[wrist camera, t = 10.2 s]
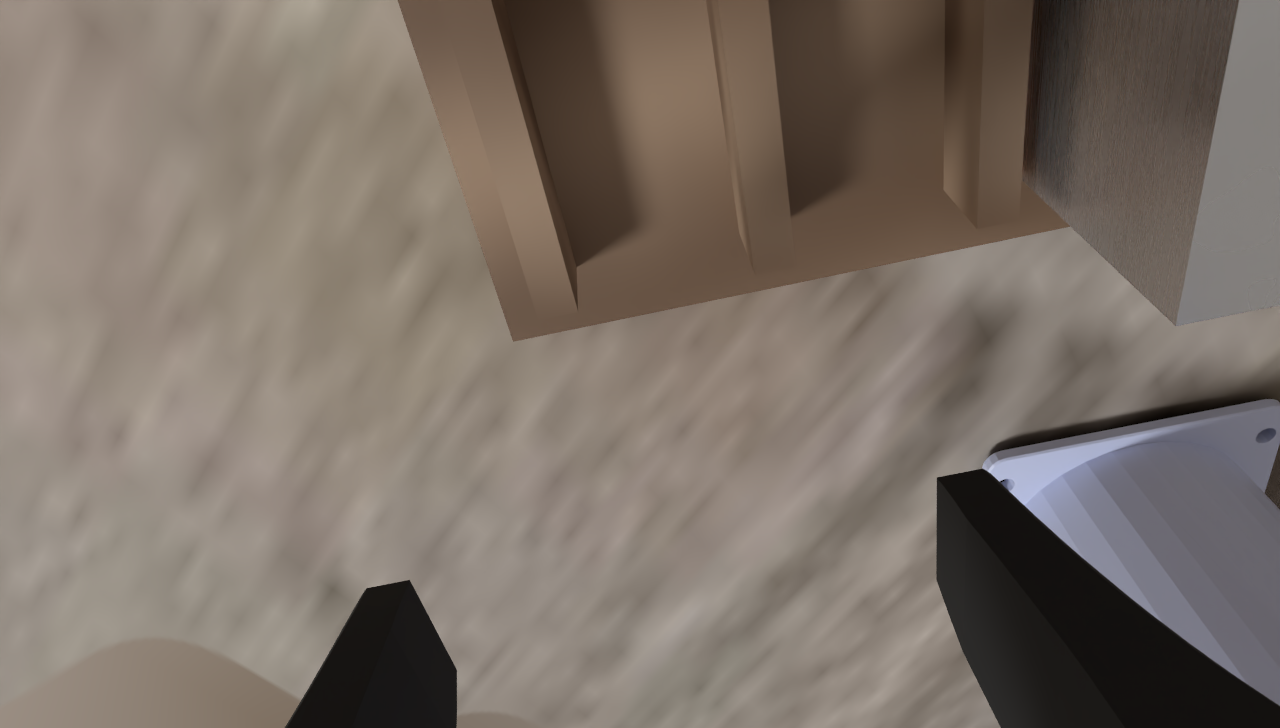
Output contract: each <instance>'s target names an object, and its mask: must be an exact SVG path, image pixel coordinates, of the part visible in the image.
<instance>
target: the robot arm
mask: <svg viewBox="0 0 1280 728" xmlns="http://www.w3.org/2000/svg"><path fill="white" fill-rule="evenodd" d="M1279 444H1280V402H1279V401H1277V400H1274V399H1264V400H1259V401H1253V402H1248V403H1243V404H1238V405H1233V406H1228V407H1223V408H1218V409H1212V410H1207V411H1202V412H1197V413H1192V414H1187V415H1182V416H1177V417H1171V418H1166V419H1161V420H1156V421H1151V422H1146V423H1141V424H1135V425H1130V426H1125V427H1120V428H1115V429H1110V430H1105V431H1100V432H1094V433H1089V434H1084V435H1079V436H1074V437H1069V438H1064V439H1059V440H1053V441H1048V442H1043V443H1038V444H1033V445H1028V446H1023V447H1018V448H1012V449H1007V450H1002V451H999V452H996V453H993V454H992V455H990V456H989V457H988V458H987V459H986V461H985V462H984V464H983V467H982V469H979V470H974V471H969V472H963V473H958V474H953V475H948V476H943V477H938V478H937V582H938V585H939V588H940V591H941V593H942V596H943V599H944V602H945V604H946V607H947V610H948V613H949V616H950V618H951V621H952V624H953V626H954V629H955V632H956V634H957V637H958V640H959V642H960V645H961V648H962V650H963V652H964V654H965V656H966V658H967V661H968V663H969V665H970V667H971V669H972V671H973V673H974V675H975V677H976V679H977V681H978V683H979V685H980V687H981V689H982V691H983V693H984V695H985V697H986V699H987V701H988V703H989V705H990V707H991V709H992V711H993V713H994V715H995V717H996V719H997V721H998V723H999V725H1000V727H1001V728H1280V509H1279V508H1278V507H1277V506H1276V505H1275V504H1274V503H1273V502H1272V501H1271V500H1270V499H1269V498H1268V496H1267V495H1266V494H1265V490H1266V487H1267V483H1268V480H1269V477H1270V474H1271V470H1272V467H1273V464H1274V461H1275V457H1276V454H1277V451H1278V448H1279ZM1004 479H1006V480H1005V481H1003V482H1001V483H1000V481H1002V480H1004ZM456 720H457V670H456V668H455V666H454V664H453V662H452V660H451V658H450V656H449V654H448V652H447V651H446V649H445V647H444V645H443V643H442V641H441V639H440V637H439V635H438V633H437V631H436V630H435V628H434V626H433V624H432V622H431V620H430V618H429V616H428V614H427V612H426V610H425V608H424V607H423V605H422V603H421V601H420V599H419V597H418V595H417V593H416V591H415V589H414V587H413V586H412V584H411V582H410V580H408V581H402V582H397V583H392V584H387V585H382V586H377V587H371V588H367V589H366V590H365V592H364V593H363V594H362V596H361V598H360V599H359V601H358V603H357V605H356V606H355V608H354V610H353V612H352V613H351V615H350V617H349V619H348V620H347V622H346V624H345V626H344V627H343V629H342V631H341V633H340V635H339V636H338V638H337V640H336V642H335V643H334V645H333V647H332V649H331V650H330V652H329V654H328V656H327V658H326V659H325V661H324V663H323V664H322V666H321V668H320V670H319V671H318V673H317V675H316V677H315V678H314V680H313V682H312V684H311V685H310V687H309V689H308V690H307V692H306V694H305V695H304V697H303V699H302V700H301V702H300V704H299V705H298V707H297V709H296V710H295V712H294V714H293V715H292V717H291V719H290V720H289V722H288V723H287V725H286V727H285V728H456V724H457V723H456V722H457V721H456Z"/></svg>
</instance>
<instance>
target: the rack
mask: <svg viewBox="0 0 1280 728" xmlns="http://www.w3.org/2000/svg"><path fill="white" fill-rule="evenodd" d="M398 3H399V5H400V8H401V11H402V14H403V17H404V20H405V23H406V26H407V29H408V32H409V35H410V38H411V41H412V44H413V47H414V50H415V53H416V56H417V59H418V62H419V65H420V68H421V70H422V73H423V76H424V79H425V82H426V85H427V88H428V91H429V94H430V97H431V100H432V103H433V106H434V109H435V112H436V115H437V118H438V121H439V124H440V127H441V130H442V133H443V135H444V138H445V141H446V144H447V147H448V150H449V153H450V156H451V159H452V162H453V165H454V168H455V171H456V174H457V177H458V180H459V183H460V186H461V189H462V192H463V195H464V197H465V200H466V203H467V206H468V209H469V212H470V215H471V218H472V221H473V224H474V227H475V230H476V233H477V236H478V239H479V242H480V245H481V248H482V251H483V254H484V257H485V260H486V262H487V265H488V268H489V271H490V274H491V277H492V280H493V283H494V286H495V289H496V292H497V295H498V298H499V301H500V304H501V307H502V310H503V313H504V316H505V319H506V322H507V324H508V327H509V330H510V333H511V336H512V339H513V342H514V341H518V340H523V339H528V338H533V337H538V336H543V335H547V334H552V333H557V332H562V331H567V330H572V329H576V328H581V327H586V326H591V325H596V324H601V323H606V322H610V321H615V320H620V319H625V318H630V317H635V316H639V315H644V314H649V313H654V312H659V311H664V310H668V309H673V308H678V307H683V306H688V305H693V304H697V303H702V302H707V301H712V300H717V299H722V298H726V297H731V296H736V295H741V294H746V293H751V292H755V291H760V290H765V289H770V288H775V287H780V286H785V285H789V284H794V283H799V282H804V281H809V280H814V279H818V278H823V277H828V276H833V275H838V274H843V273H847V272H852V271H857V270H862V269H867V268H872V267H876V266H881V265H886V264H891V263H896V262H901V261H905V260H910V259H915V258H920V257H925V256H930V255H934V254H939V253H944V252H949V251H954V250H959V249H964V248H968V247H973V246H978V245H983V244H988V243H993V242H997V241H1002V240H1007V239H1012V238H1017V237H1022V236H1026V235H1031V234H1036V233H1041V232H1046V231H1051V230H1055V229H1060V228H1065V227H1070V225H1069V224H1068V223H1066V222H1065V221H1064V220H1063V219H1062V218H1061V217H1060V216H1059V215H1058V214H1057V213H1056V212H1055V211H1054V210H1053V209H1052V208H1051V207H1050V206H1049V205H1047V204H1046V203H1045V202H1044V201H1043V200H1042V199H1041V198H1040V197H1039V196H1038V195H1037V194H1036V193H1035V192H1034V191H1033V190H1032V189H1031V188H1030V187H1028V186H1027V185H1026V184H1025V183H1024V182H1023V181H1022V166H1023V150H1024V135H1025V119H1026V103H1027V88H1028V72H1029V57H1030V41H1031V25H1032V10H1033V0H398Z"/></svg>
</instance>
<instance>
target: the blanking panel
mask: <svg viewBox="0 0 1280 728" xmlns="http://www.w3.org/2000/svg"><path fill="white" fill-rule="evenodd" d="M1022 181H1023V182H1024V183H1025V184H1026V185H1027V186H1028V187H1030V188H1031V189H1032V190H1033V191H1034V192H1035V193H1036V194H1037V195H1038V196H1039V197H1040V198H1041V199H1042V200H1043V201H1044V202H1045V203H1046V204H1047V205H1049V206H1050V207H1051V208H1052V209H1053V210H1054V211H1055V212H1056V213H1057V214H1058V215H1059V216H1060V217H1061V218H1062V219H1063V220H1064V221H1065V222H1066V223H1068V224H1069V225H1070V226H1071V227H1072V228H1073V229H1074V230H1075V231H1076V232H1077V233H1078V234H1079V235H1080V236H1081V237H1082V238H1083V239H1084V240H1085V241H1086V242H1088V243H1089V244H1090V245H1091V246H1092V247H1093V248H1094V249H1095V250H1096V251H1097V252H1098V253H1099V254H1100V255H1101V256H1102V257H1103V258H1104V259H1105V260H1107V261H1108V262H1109V263H1110V264H1111V265H1112V266H1113V267H1114V268H1115V269H1116V270H1117V271H1118V272H1119V273H1120V274H1121V275H1122V276H1123V277H1124V278H1126V279H1127V280H1128V281H1129V282H1130V283H1131V284H1132V285H1133V286H1134V287H1135V288H1136V289H1137V290H1138V291H1139V292H1140V293H1141V294H1142V295H1143V296H1144V297H1146V298H1147V299H1148V300H1149V301H1150V302H1151V303H1152V304H1153V305H1154V306H1155V307H1156V308H1157V309H1158V310H1159V311H1160V312H1161V313H1162V314H1163V315H1165V316H1166V317H1167V318H1168V319H1169V320H1170V321H1171V322H1172V323H1173V324H1174V325H1175V326H1179V325H1184V324H1189V323H1194V322H1199V321H1204V320H1209V319H1214V318H1219V317H1224V316H1229V315H1234V314H1239V313H1244V312H1249V311H1254V310H1259V309H1264V308H1269V307H1274V306H1279V305H1280V0H1033V10H1032V25H1031V41H1030V57H1029V72H1028V88H1027V103H1026V119H1025V135H1024V150H1023V166H1022Z"/></svg>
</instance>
